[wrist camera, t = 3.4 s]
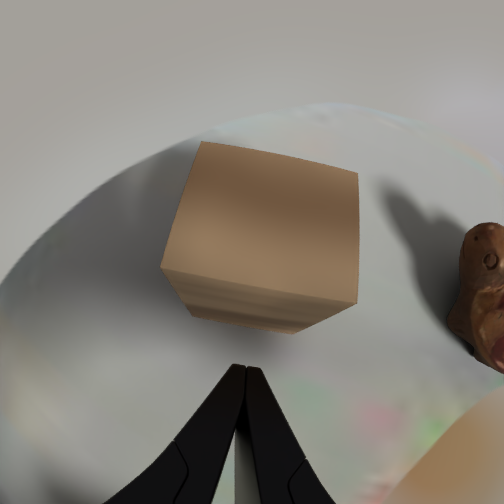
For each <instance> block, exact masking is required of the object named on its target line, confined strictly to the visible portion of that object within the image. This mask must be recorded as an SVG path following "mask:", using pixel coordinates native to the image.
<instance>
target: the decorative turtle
mask: <svg viewBox="0 0 504 504" xmlns="http://www.w3.org/2000/svg"><path fill="white" fill-rule="evenodd" d="M459 272H460V281H461V287H460V293H459V296H458V298H457V300H456V302H455V304H454V306H453V307H452V309H451V311H450V313H449V315H448V317H447V324H448V327H449V328H450V330H451V331H452V332H454V333H455V334H456V335H457V336H459V337H461V338H462V339H464V340H465V341H467V342H469V343H470V344H471V345H472V346H473V347H474V357H475V359H476V360H477V361H479V362H481V363H483V364H485V365H487V366H488V367H491V368H493V369H494V370H496V371H498V372H500V373H502V374H504V226H502V225H500V224H498V223H492V222H488V223H481V224H478V225H476V226H475V227H473V228H472V229H470V230H469V231H468V232H467V233H466V235H465V238H464V241H463V244H462V247H461V251H460V258H459Z"/></svg>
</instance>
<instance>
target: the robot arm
mask: <svg viewBox="0 0 504 504" xmlns="http://www.w3.org/2000/svg"><path fill="white" fill-rule="evenodd" d="M234 432H235V504H336V503H335V502H334V501H333V499H332V498H331V497H330V495H329V494H328V492H327V491H326V490H325V488H324V487H323V485H322V484H321V482H320V481H319V479H318V477H317V476H316V474H315V472H314V471H313V469H312V467H311V465H310V463H309V462H308V460H307V459H305V458H306V456H305V454H304V452H303V451H302V449H301V447H300V445H299V443H298V441H297V439H296V437H295V435H294V433H293V431H292V430H291V428H290V426H289V424H288V422H287V420H286V418H285V416H284V414H283V412H282V410H281V408H280V406H279V404H278V402H277V400H276V398H275V396H274V394H273V392H272V390H271V388H270V386H269V384H268V382H267V380H266V378H265V376H264V374H263V372H262V370H261V369H260V368H258V367H252V366H248V367H247V368H246V366H245V365H240V364H232V365H231V366H230V367H229V369H228V370H227V371H226V373H225V374H224V375H223V377H222V378H221V379H220V381H219V382H218V383H217V385H216V386H215V387H214V389H213V390H212V391H211V393H210V394H209V395H208V396H207V398H206V399H205V400H204V402H203V403H202V404H201V405H200V407H199V408H198V409H197V411H196V412H195V413H194V414H193V416H192V417H191V418H190V419H189V421H188V422H187V423H186V424H185V426H184V427H183V428H182V429H181V431H180V432H179V433H178V434H177V436H176V437H175V438H174V440H173V441H171V443H170V444H169V445H168V446H167V447H166V449H165V450H164V451H163V452H162V453H161V454H160V455H159V456H158V458H157V459H156V460H155V461H154V462H153V463H152V464H151V465H150V466H149V467H148V468H146V469H145V470H144V471H143V472H142V473H141V474H140V475H139V476H137V477H136V478H135V479H134V480H133V481H131V482H130V483H129V484H128V485H126V486H125V487H124V488H123V489H121V490H120V491H119V492H118V493H116V494H115V495H114V496H113V497H111V498H110V499H108V500H107V501H106V502H104V503H103V504H212V501H213V498H214V495H215V492H216V489H217V486H218V483H219V480H220V477H221V474H222V471H223V468H224V464H225V461H226V458H227V455H228V452H229V448H230V445H231V442H232V439H233V435H234Z"/></svg>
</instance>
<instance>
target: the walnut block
mask: <svg viewBox="0 0 504 504" xmlns="http://www.w3.org/2000/svg"><path fill="white" fill-rule="evenodd" d="M160 268H161V270H162V271H163V273H164V274H165V276H166V278H167V279H168V281H169V282H170V284H171V285H172V287H173V288H174V290H175V291H176V293H177V294H178V296H179V297H180V299H181V300H182V302H183V303H184V305H185V306H186V307H187V309H188V310H189V312H190V313H191V315H192V316H194V317H199V318H203V319H208V320H213V321H218V322H223V323H229V324H234V325H239V326H245V327H251V328H256V329H262V330H268V331H275V332H281V333H287V334H295V333H297V332H299V331H301V330H303V329H306V328H308V327H310V326H312V325H314V324H316V323H318V322H321V321H323V320H325V319H327V318H329V317H331V316H333V315H335V314H337V313H339V312H341V311H343V310H345V309H347V308H349V307H351V306H353V305H355V304H357V297H358V278H359V187H358V173H356V172H352V171H348V170H344V169H341V168H337V167H333V166H329V165H325V164H321V163H316V162H312V161H308V160H303V159H299V158H294V157H290V156H285V155H280V154H275V153H270V152H265V151H259V150H254V149H248V148H242V147H236V146H230V145H224V144H217V143H210V142H203V141H201V144H200V146H199V149H198V152H197V154H196V157H195V160H194V162H193V165H192V168H191V171H190V174H189V176H188V179H187V182H186V185H185V188H184V191H183V194H182V197H181V200H180V203H179V206H178V209H177V212H176V215H175V218H174V222H173V225H172V228H171V231H170V235H169V238H168V241H167V245H166V248H165V251H164V255H163V258H162V262H161V266H160Z"/></svg>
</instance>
